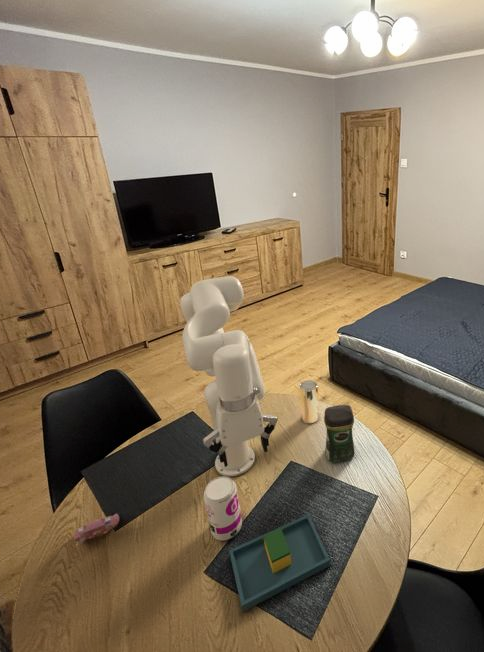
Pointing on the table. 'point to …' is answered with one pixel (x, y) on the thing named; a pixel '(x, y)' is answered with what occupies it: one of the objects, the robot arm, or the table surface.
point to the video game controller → (96, 528)
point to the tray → (263, 583)
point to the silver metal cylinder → (309, 400)
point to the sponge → (277, 550)
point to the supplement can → (222, 508)
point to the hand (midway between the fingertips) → (245, 455)
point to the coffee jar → (339, 433)
